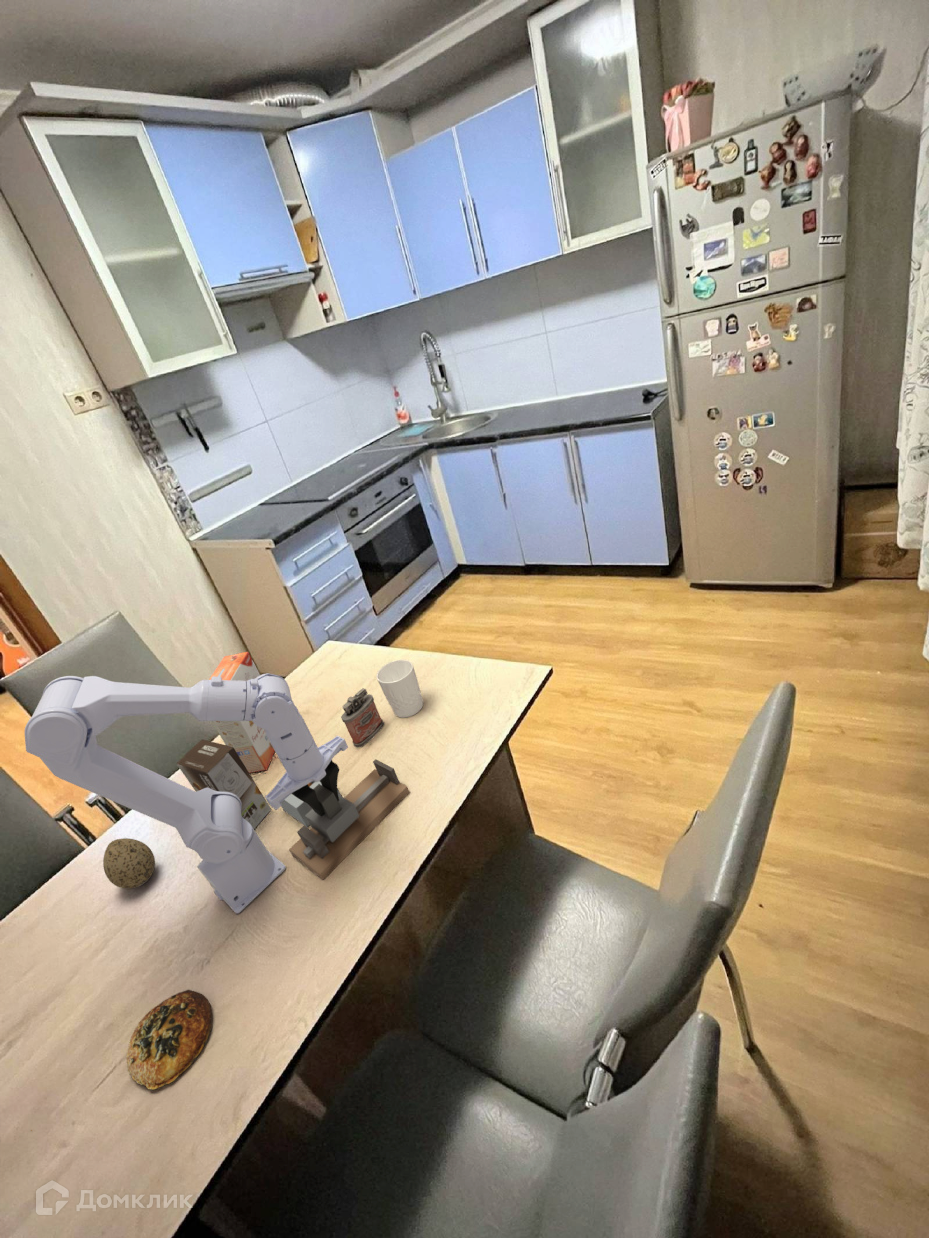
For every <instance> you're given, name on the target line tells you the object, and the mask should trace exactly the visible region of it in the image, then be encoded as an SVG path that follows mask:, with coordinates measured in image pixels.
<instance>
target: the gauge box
mask: <svg viewBox="0 0 929 1238" xmlns="http://www.w3.org/2000/svg"><path fill="white" fill-rule="evenodd" d="M311 783H312V785H311V786H310V788H312V789H314V788H315V787H316V786H317V785H318V784H320V785H322V784H321V782H320V781H319V782H314V781H312V782H311ZM337 790H338V794H339V795H340V796H342V794H341V792H340V789H339V788H338V787H337ZM281 804H282V806H281V809H282V810H283V811H285V812H286V813H287V814H289V816H291V817H292V818H294V819H295V820H297V821H298V822H299V823H300V824H302V826H306V827H307V828H308V827H309V826H310V824H309V822H308V820H307V819H306V817H305V815H306V814H307V813H308V812H309V811H311V810H312V808H311V807H310V806H309V805H308V804H307V803H306V802H303V801H302V800H300V799H298V798H297V797H295V796H294V795H292V794H290V795H289V796H288V797H287V798H286V799H285V800H283V801H282V802H281Z"/></svg>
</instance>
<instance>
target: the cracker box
mask: <svg viewBox="0 0 929 1238" xmlns="http://www.w3.org/2000/svg"><path fill="white" fill-rule="evenodd" d="M260 675H261V674H260V672H259V670H258V668H257V665H256V664H255V662H254V661H253V659H252V656H251V654H250V652H249V651H246V652H245V651H243V652H240V653H236V654H229V655H225V656H223V657H222V659H221V661H220V662H219V664H218V666H217V667H216V668H215V670H214V671H213V673H212V674H211V676H210V677H209V678H208V680H211V678H212V677H222V680H238V681H248V680H251V679H255V678H256V677H258V676H260ZM211 723H212V725H213V726H214V728H215V730H216V731H217V733H218V734H219V736H220V738H221V739H222V741H223V743H224V745H227V746H231V747H234V749H235V751H236V752H237V754H238V755H239V757H240V759H241V760H242V762H243V764H244V765H245V767H246V769H247V770H248V772H249V773H250V774H252V773H256V772H261V771H262V772H263V771H268V768H269V766H270V763H271V761H272V760H273V757H274V755H275V753H276V752H275V750H274V748H273V747H272V745H271V743H270V741H269V740H268V738H267V736H266V733H265V730H264V729H262V728H260V727H258V726H257V725H255V724H254V723H253V721H211Z"/></svg>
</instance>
